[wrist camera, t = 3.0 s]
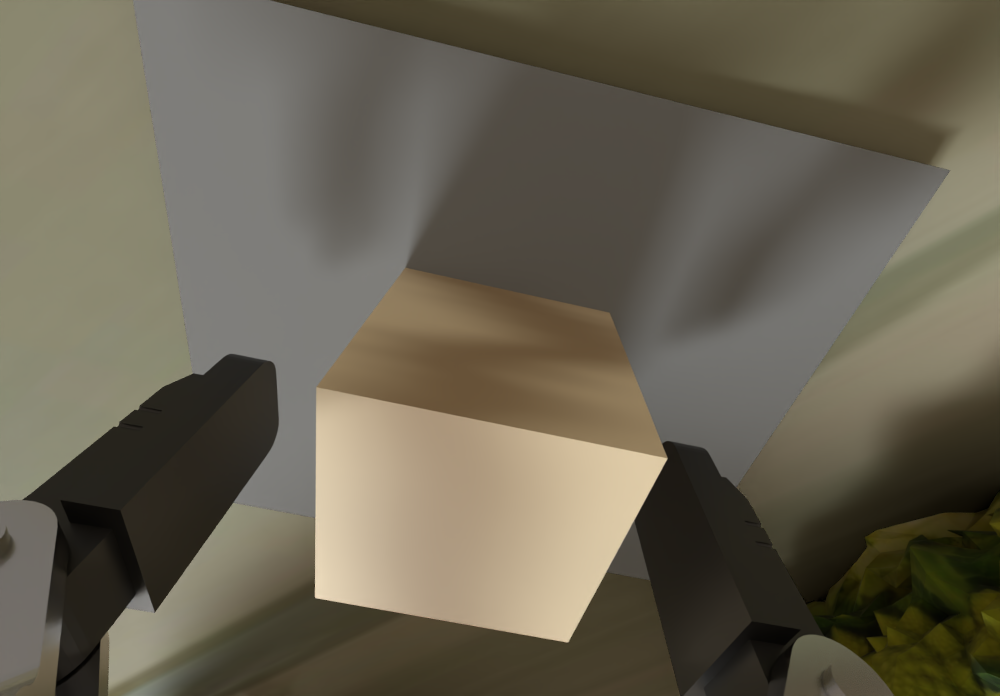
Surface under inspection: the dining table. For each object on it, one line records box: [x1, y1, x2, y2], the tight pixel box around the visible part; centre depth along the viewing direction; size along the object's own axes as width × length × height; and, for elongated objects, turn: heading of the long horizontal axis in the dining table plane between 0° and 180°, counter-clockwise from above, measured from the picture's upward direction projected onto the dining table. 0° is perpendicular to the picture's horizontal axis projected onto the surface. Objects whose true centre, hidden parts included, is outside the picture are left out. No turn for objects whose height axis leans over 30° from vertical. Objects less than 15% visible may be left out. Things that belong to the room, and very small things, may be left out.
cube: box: [315, 268, 668, 642], centre depth 9 cm, size 5×5×5 cm
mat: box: [133, 0, 950, 580], centre depth 12 cm, size 16×14×1 cm
